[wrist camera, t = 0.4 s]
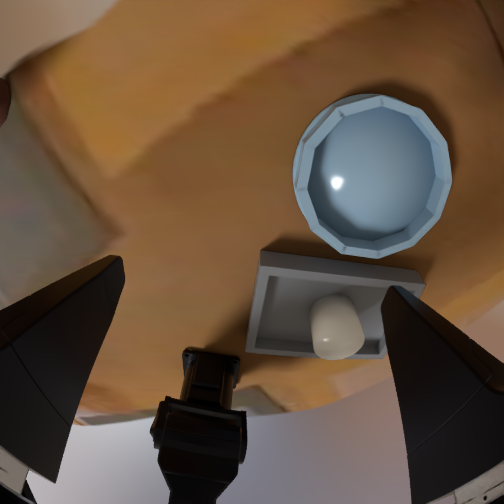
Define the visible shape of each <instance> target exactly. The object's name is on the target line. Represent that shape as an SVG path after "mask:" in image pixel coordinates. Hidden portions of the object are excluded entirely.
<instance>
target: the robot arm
mask: <svg viewBox="0 0 504 504" xmlns="http://www.w3.org/2000/svg"><path fill="white" fill-rule="evenodd" d="M124 284H125V273H124V266H123V260H122V258H121V257H120V256H116V255H108V256H106V257H104V258H102V259H100V260H98V261H96V262H94V263H92V264H90V265H88V266H86V267H84V268H82V269H80V270H77V271H75V272H73V273H71V274H69V275H67V276H65V277H64V278H62V279H60V280H58V281H56V282H54V283H52V284H50V285H48V286H46V287H44V288H42V289H40V290H38V291H37V292H35V293H33V294H31V296H30V295H29V296H27V297H25V298H23V299H22V300H20V301H18V302H16V303H14V304H12V305H10V306H8V307H6V308H4V309H2V310H0V504H37V503H36V500H35V498H34V496H33V494H32V492H31V490H30V487H29V485H28V483H27V480H26V477H27V474H28V471H29V470H30V471H32V472H34V473H36V474H38V475H39V476H41V477H43V478H45V479H47V480H49V481H51V482H53V483H56V480H57V477H58V473H59V469H60V465H61V461H62V457H63V454H64V450H65V447H66V443H67V439H68V437H69V433H70V430H71V426H72V423H73V420H74V417H75V414H76V411H77V408H78V405H79V402H80V400H81V397H82V394H83V391H84V389H85V386H86V383H87V380H88V378H89V375H90V373H91V370H92V367H93V365H94V362H95V360H96V357H97V355H98V353H99V350H100V348H101V345H102V343H103V341H104V338H105V336H106V334H107V331H108V329H109V327H110V324H111V322H112V319H113V317H114V314H115V311H116V307H117V304H118V301H119V298H120V295H121V292H122V290H123V287H124ZM381 316H382V322H383V328H384V335H385V341H386V347H387V352H388V356H389V360H390V364H391V369H392V373H393V377H394V382H395V387H396V392H397V397H398V401H399V407H400V412H401V418H402V424H403V430H404V436H405V443H406V450H407V454H408V455H407V459H408V468H409V477H410V488H411V500H412V504H430V503H432V502H435V501H438V500H440V499H443V498H445V497H448V496H450V495H454V500H455V504H504V363H502V362H501V361H499V360H498V359H497V358H495V357H494V356H493V355H491V354H490V353H489V352H487V351H486V350H485V349H484V348H482V347H481V346H480V345H478V344H477V343H476V342H475V341H473V340H472V339H470V338H469V337H468V336H467V335H466V334H465V333H463V332H462V331H461V330H459V329H458V328H457V327H456V326H454V325H453V324H452V323H450V322H449V321H448V320H447V319H445V318H444V317H443V316H441V315H440V314H439V313H437V312H436V311H435V310H433V309H432V308H431V307H429V306H428V305H427V304H425V303H424V302H422V301H421V300H420V299H418V298H417V297H416V296H414V295H413V294H412V293H410V292H409V291H407V290H406V289H405V288H403V287H402V286H397V285H391V286H389V288H388V290H387V292H386V294H385V296H384V299H383V301H382V303H381ZM182 358H183V369H184V381H183V386H182V390H181V395H180V399H174V398H171V397H170V396H166V397H165V400H164V401H161V402H160V403H159V407H158V411H157V414H156V417H155V419H154V421H153V424H152V426H151V428H150V434H151V435H152V437H153V442H154V448H155V449H159V454H158V464H159V466H160V469H161V471H162V474H163V476H164V478H165V481H166V483H167V485H168V487H169V490H170V496H169V503H168V504H216V499H217V498H218V497H219V496H220V495H221V493H222V492H223V491H224V490H225V489H226V488H227V486H228V485H229V484H230V483H231V482H232V481H233V480H234V479H235V477H236V476H237V474H238V466H239V464H242V463H243V462H244V459H245V455H246V449H247V419H246V411H236V410H231V403H232V393H233V389H235V388H236V382H237V376H238V370H239V364H240V359H239V358H238V357H232V356H224V355H216V354H209V353H202V352H196V351H189V350H184V351H183V354H182Z"/></svg>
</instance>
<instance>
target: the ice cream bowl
mask: <svg viewBox="0 0 504 504" xmlns="http://www.w3.org/2000/svg"><path fill="white" fill-rule="evenodd" d="M9 106H10V96H9V87H8V85H7V84H6V83H5V82H4V80H3V79H2V78H0V126H1V125H2V124H3V123H4V121H5V120H6V118H7V114H8V110H9Z"/></svg>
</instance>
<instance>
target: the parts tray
mask: <svg viewBox="0 0 504 504" xmlns="http://www.w3.org/2000/svg"><path fill="white" fill-rule="evenodd" d="M391 285H397V286H402V287H403V288H405V289H406V290H407V291H409V292H410V293H412V294H413V295H414V296H416V297H417V298H418V299H419V297H420V295H421V293H422V291H423V289H424V287H425V285H426V284H425V282H424V281H423V279H422V277H421V276H420V274H419V273H418V271H417V270H410V269H402V268H395V267H387V266H379V265H372V264H364V263H356V262H348V261H341V260H333V259H325V258H317V257H309V256H302V255H294V254H286V253H278V252H270V251H262V250H260V256H259V262H258V268H257V274H256V280H255V286H254V292H253V298H252V304H251V310H250V316H249V322H248V328H247V334H246V346H245V352H248V353H258V354H268V355H280V356H293V357H309V358H321V357H319V356H318V355H317V354H316V353H315V351H314V347H313V340H312V333H311V326H310V319H309V311H310V308H311V307H312V305H313V304H314V303H315V302H316V301H317V300H319V299H320V298H322V297H325V296H327V295H332V294H341V295H345V296H347V297H349V298H350V299H351V300H352V301H353V303H354V305H355V308H356V311H357V315H358V318H359V321H360V324H361V327H362V330H363V334H364V337H365V340H364V344H363V346H362V347H361V348H360V349H359V350H358V351H357V352H356V353H355V354H353V355H351V356H349V357H347V358H344V359H383V358H384V356H385V354H386V353H387V347H386V341H385V335H384V328H383V322H382V316H381V303H382V301H383V299H384V296H385V294H386V292H387V290H388V288H389V286H391Z"/></svg>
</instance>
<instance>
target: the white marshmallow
mask: <svg viewBox="0 0 504 504" xmlns="http://www.w3.org/2000/svg"><path fill="white" fill-rule="evenodd" d="M309 319H310V326H311V333H312V340H313V347H314V351H315V353H316V354H317V355H318V356H319V357H321V358H323V359H326V360H339V359H344V358H347V357H349V356H351V355H353V354H355V353H356V352H357V351H358V350H359V349H360V348H361V347H362V346H363V344H364V340H365V337H364V334H363V330H362V327H361V324H360V321H359V318H358V315H357V311H356V308H355V305H354V303H353V301H352V300H351V299H350V298H349V297H347V296H345V295H341V294H332V295H327V296H325V297H322V298H320V299H319V300H317V301H316V302H315V303H314V304H313V305H312V307H311V308H310V311H309Z"/></svg>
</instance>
